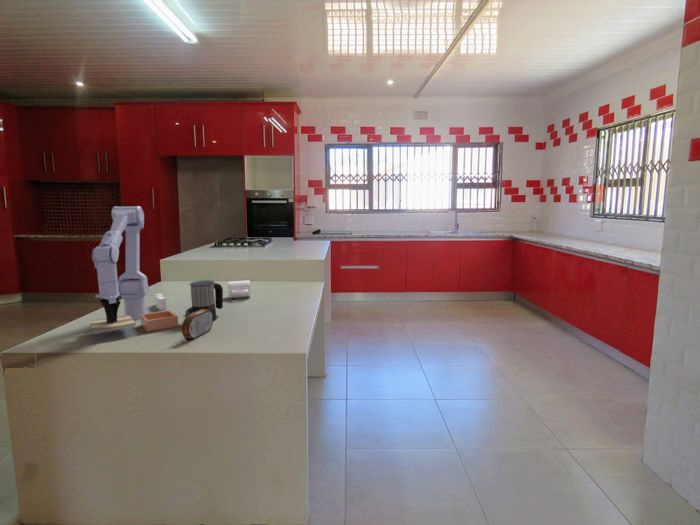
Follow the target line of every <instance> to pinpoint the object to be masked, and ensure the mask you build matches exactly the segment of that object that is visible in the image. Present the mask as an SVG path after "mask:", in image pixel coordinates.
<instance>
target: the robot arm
mask: <svg viewBox="0 0 700 525" xmlns="http://www.w3.org/2000/svg"><path fill="white" fill-rule="evenodd" d="M110 214H111V219H112V224H111V226H110V230H107V231H106V232H104V235H103V237H102V239H101V241H100V243H99V245H98V246H96V247H94V248H93V249H92V255H91V259H92V262H93V264H94V268H95V269H96V272H97V283H98V291H99V293H98V294H95V298H96V299H98V298H100V299H99V302H100V303H101V305H102V306H103V308H104V312H105V314H106V313H107V317H108V320H109V322H112V321H116V319H117V317H118V311H119V307H120V305H121V300H119V296H120V297H121V299H123V307H124V316H126V315H130V317H131V318H132V319H133V320H134V321H138V320H140V321H141V317H140V315H142V314H147V313H146V301H145V296H146V295H147V294H148V293H149V282H148V277H147V275H146V274H144V273H143V272H141V271H140V267H141V266H140V261H141V259H140V257H141V256H140V254H141V253H140V246H141V245H140V242H141V241H140V238H141V236H140V232H141V230H142V229H144V228H145V226H144V225H145V213H144V210H143V208H142V206H140V205H137V206H116V205H115V206H112V209H111V213H110ZM123 232H125V271H124V273H122V274H121V275H120V276H119V277H118V270H117V269H118V268H117V263H118V260H119V255H120V249H119V248H120V246H121V244H122V242H123V240H124V239H123V235H122V234H123Z"/></svg>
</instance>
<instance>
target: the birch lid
mask: <svg viewBox="0 0 700 525" xmlns="http://www.w3.org/2000/svg"><path fill="white" fill-rule="evenodd" d="M88 323H89V325H90V329H91V332H97V331H103V330H109V329H115V328H121V327H127V326H133V325H134V326H136V322H135V320H133V319H132V318H131V317H130V315H126V316H125V315H119V316H117V319H116V321H112V322H109V320H108V317H107V313H105V318H101V319H94V320H89V322H88Z"/></svg>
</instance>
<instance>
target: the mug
mask: <svg viewBox="0 0 700 525" xmlns="http://www.w3.org/2000/svg"><path fill="white" fill-rule="evenodd" d="M227 291H228V299H238V298H239V299H240V298H250V297H251V296H252V295H251V281H250V280H249V279H247V280H234V281H227Z"/></svg>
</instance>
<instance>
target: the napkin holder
mask: <svg viewBox="0 0 700 525" xmlns="http://www.w3.org/2000/svg"><path fill="white" fill-rule="evenodd" d="M154 295H155V296H154V298H155V306H156V308H157V309H159V310H160V311H168V310H167V309H168V308H167V298H166V297H165V295H164V294H162V293H156V294H154Z"/></svg>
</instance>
